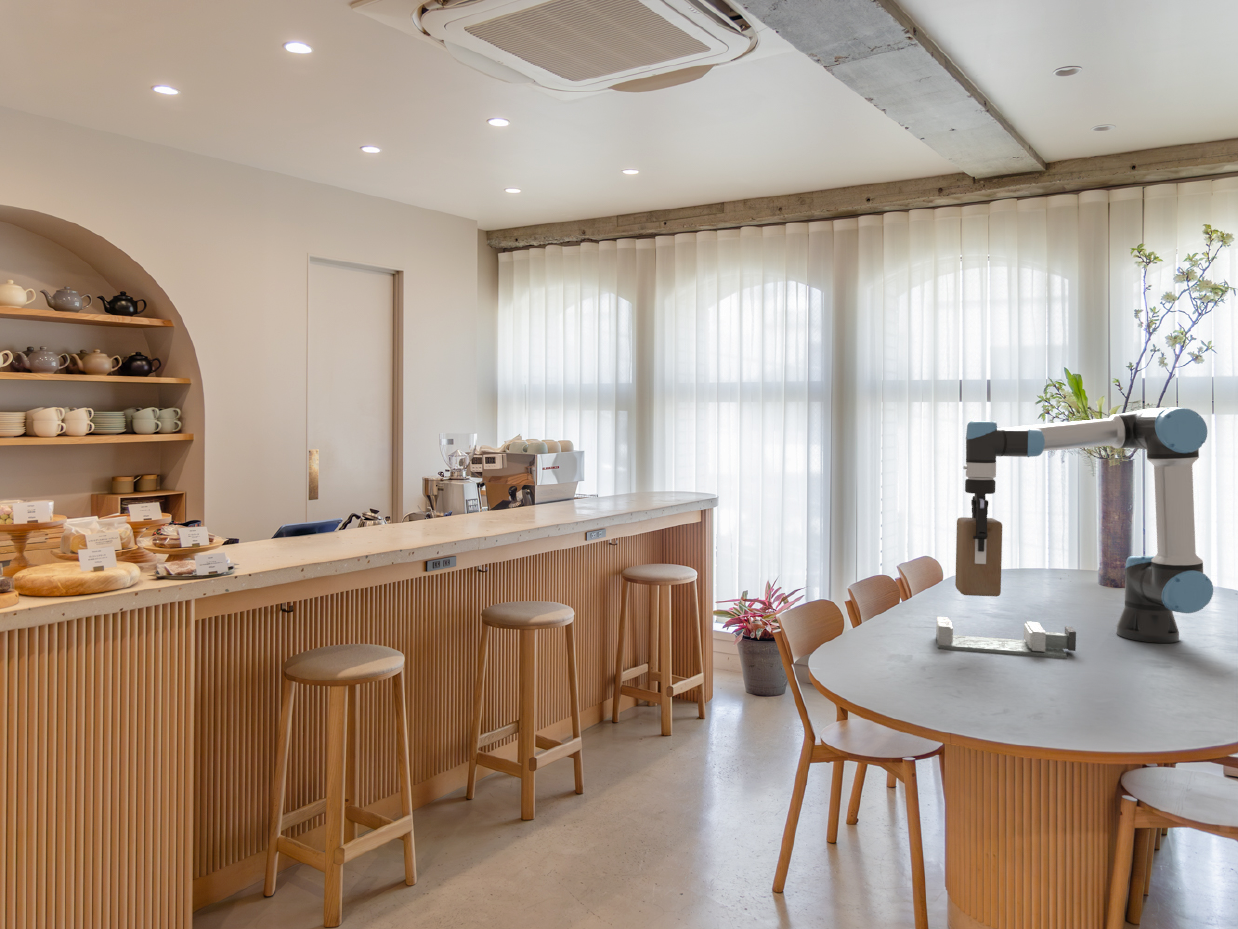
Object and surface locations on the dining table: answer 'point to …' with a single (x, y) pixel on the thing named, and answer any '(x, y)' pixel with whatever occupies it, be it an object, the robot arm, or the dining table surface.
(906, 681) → the dining table surface
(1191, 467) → the robot arm
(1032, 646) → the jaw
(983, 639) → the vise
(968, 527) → the wooden block
